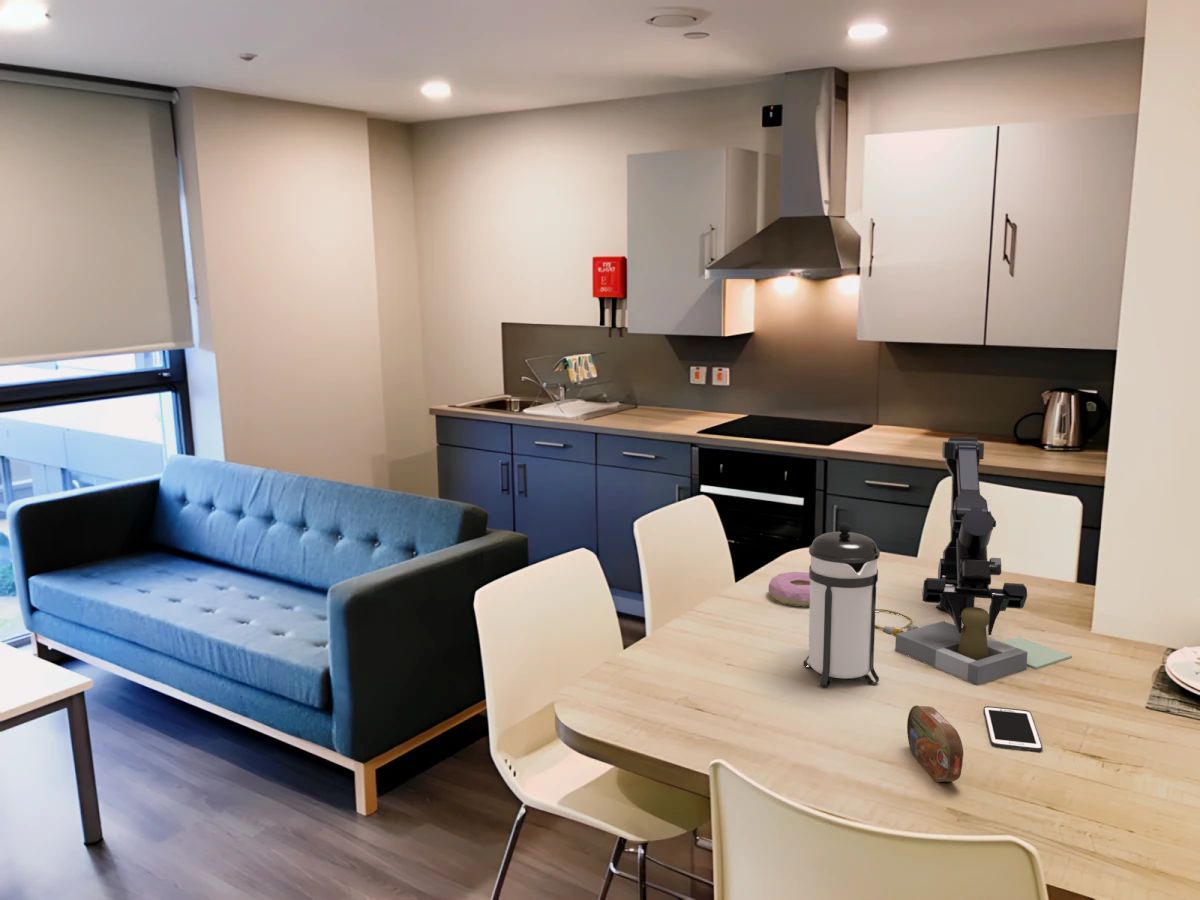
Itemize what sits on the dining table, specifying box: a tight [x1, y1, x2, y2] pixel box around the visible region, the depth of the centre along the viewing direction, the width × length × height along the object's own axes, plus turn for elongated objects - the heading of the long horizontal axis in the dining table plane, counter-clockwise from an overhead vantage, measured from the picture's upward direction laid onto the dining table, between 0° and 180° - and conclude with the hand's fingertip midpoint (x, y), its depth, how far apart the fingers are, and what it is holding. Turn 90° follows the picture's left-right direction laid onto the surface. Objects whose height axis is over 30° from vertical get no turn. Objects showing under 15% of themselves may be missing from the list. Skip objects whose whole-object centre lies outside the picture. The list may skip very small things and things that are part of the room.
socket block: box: [894, 620, 1028, 686], centre depth 192 cm, size 20×14×4 cm
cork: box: [958, 606, 990, 661], centre depth 187 cm, size 6×6×11 cm
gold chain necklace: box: [875, 608, 919, 636], centre depth 212 cm, size 12×16×2 cm
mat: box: [1001, 636, 1073, 670], centre depth 195 cm, size 12×11×1 cm
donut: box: [768, 571, 810, 607], centre depth 230 cm, size 16×15×5 cm
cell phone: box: [983, 705, 1043, 753], centre depth 163 cm, size 8×15×1 cm, turn 164°
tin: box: [906, 705, 964, 783], centre depth 150 cm, size 15×3×8 cm, turn 5°
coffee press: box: [803, 521, 881, 688], centre depth 184 cm, size 17×16×30 cm
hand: (975, 633), depth 186 cm, fingers closed on cork, 5 cm apart
